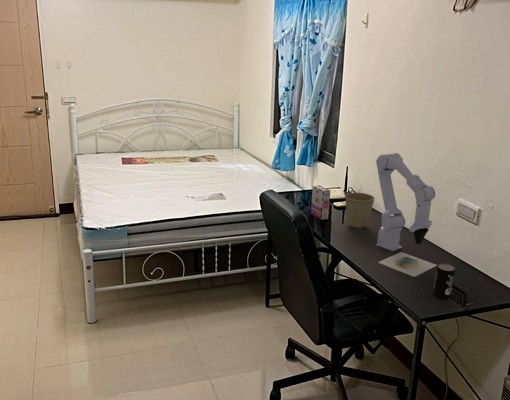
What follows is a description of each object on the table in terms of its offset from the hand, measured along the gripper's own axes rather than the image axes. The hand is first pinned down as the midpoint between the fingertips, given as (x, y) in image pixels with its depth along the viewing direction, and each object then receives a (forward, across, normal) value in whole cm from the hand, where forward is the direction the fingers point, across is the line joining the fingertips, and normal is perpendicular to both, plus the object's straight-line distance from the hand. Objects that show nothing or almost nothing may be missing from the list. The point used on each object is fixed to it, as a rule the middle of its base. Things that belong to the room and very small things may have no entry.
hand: (418, 243), depth 218 cm
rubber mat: (+8, -7, 0) cm, 11 cm away
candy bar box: (+8, +9, +66) cm, 67 cm away
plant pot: (+8, +14, +44) cm, 47 cm away
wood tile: (+7, -4, 0) cm, 8 cm away
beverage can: (+8, -21, -24) cm, 33 cm away
